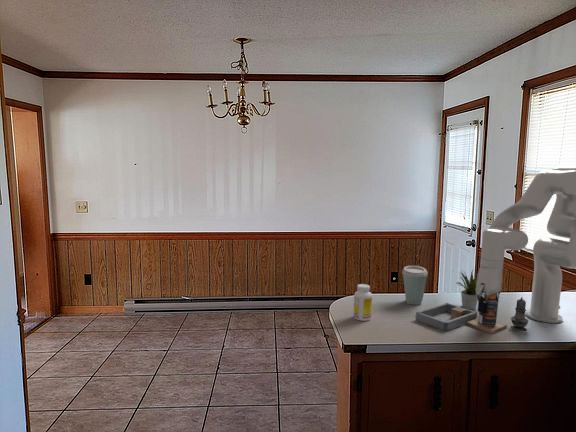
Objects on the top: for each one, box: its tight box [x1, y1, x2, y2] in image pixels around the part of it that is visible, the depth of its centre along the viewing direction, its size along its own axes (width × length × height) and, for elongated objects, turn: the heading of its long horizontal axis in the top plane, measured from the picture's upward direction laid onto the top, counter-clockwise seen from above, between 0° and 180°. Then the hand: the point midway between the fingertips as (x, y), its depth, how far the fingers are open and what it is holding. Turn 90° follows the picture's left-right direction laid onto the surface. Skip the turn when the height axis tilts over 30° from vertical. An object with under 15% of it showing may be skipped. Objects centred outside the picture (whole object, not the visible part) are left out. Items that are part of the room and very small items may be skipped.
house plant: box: [451, 268, 478, 310], centre depth 177 cm, size 14×14×16 cm
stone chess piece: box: [510, 296, 530, 332], centre depth 156 cm, size 6×6×12 cm
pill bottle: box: [478, 292, 499, 326], centre depth 157 cm, size 6×6×11 cm
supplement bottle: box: [353, 283, 373, 322], centre depth 162 cm, size 7×7×13 cm
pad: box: [465, 317, 508, 335], centre depth 158 cm, size 10×10×1 cm
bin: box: [415, 302, 478, 332], centre depth 163 cm, size 20×13×3 cm, turn 126°
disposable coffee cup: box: [401, 265, 429, 306], centre depth 182 cm, size 11×11×15 cm
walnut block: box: [450, 306, 467, 320], centre depth 165 cm, size 4×4×4 cm
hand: (487, 310), depth 157 cm, fingers open, 6 cm apart
